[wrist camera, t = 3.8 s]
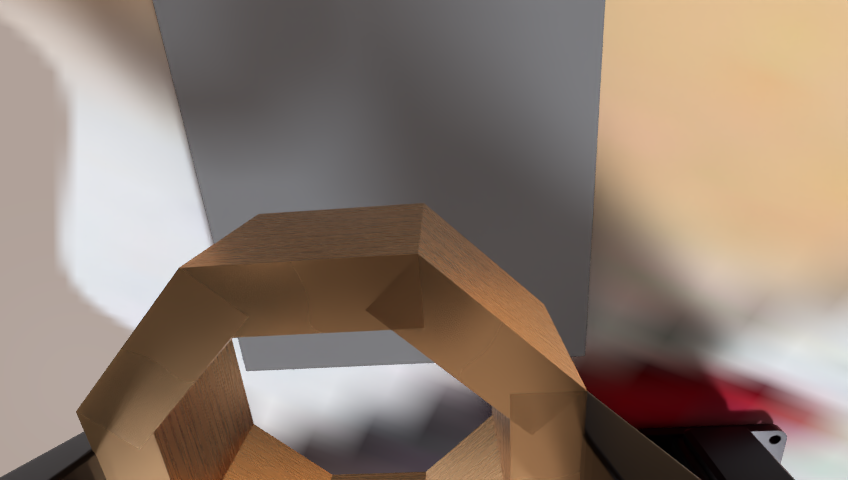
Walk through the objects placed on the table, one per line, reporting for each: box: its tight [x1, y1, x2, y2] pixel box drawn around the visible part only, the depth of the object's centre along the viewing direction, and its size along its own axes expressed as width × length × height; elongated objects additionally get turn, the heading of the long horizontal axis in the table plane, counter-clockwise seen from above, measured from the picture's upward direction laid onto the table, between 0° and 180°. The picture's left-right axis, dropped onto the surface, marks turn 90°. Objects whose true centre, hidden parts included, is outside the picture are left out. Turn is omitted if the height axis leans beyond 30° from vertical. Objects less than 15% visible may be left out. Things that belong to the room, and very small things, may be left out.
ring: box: [76, 203, 587, 480], centre depth 7 cm, size 7×7×2 cm
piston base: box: [153, 0, 605, 371], centre depth 12 cm, size 24×14×5 cm, turn 4°
